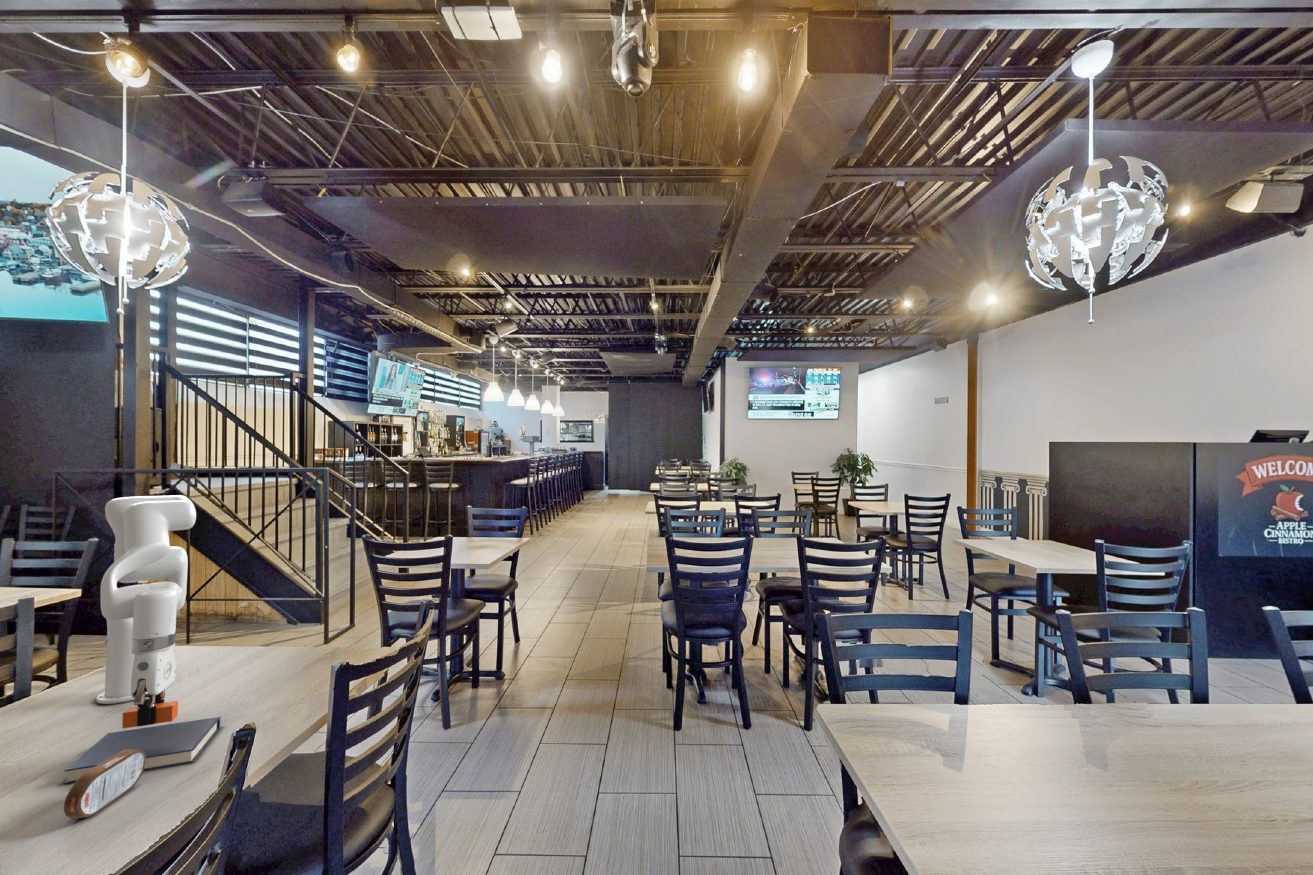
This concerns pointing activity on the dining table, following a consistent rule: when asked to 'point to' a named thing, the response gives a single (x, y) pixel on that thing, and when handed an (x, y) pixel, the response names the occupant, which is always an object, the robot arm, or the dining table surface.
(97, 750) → the book
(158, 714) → the long orange block
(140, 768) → the tin
